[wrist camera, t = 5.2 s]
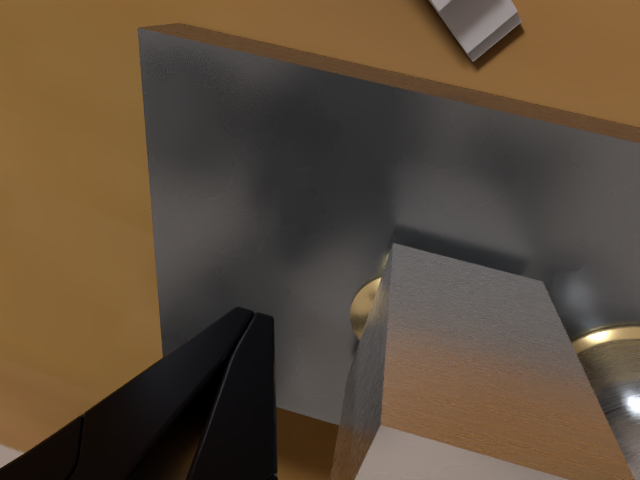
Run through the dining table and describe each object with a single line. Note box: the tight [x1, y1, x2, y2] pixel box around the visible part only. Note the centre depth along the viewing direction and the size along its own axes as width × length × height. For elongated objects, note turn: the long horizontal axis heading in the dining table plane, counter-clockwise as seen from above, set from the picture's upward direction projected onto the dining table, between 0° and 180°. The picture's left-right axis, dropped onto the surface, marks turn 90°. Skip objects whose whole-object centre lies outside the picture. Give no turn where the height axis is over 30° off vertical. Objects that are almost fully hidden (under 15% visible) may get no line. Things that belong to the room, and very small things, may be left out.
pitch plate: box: [138, 23, 640, 480], centre depth 8 cm, size 10×13×5 cm
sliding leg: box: [330, 243, 635, 480], centre depth 7 cm, size 4×3×4 cm
